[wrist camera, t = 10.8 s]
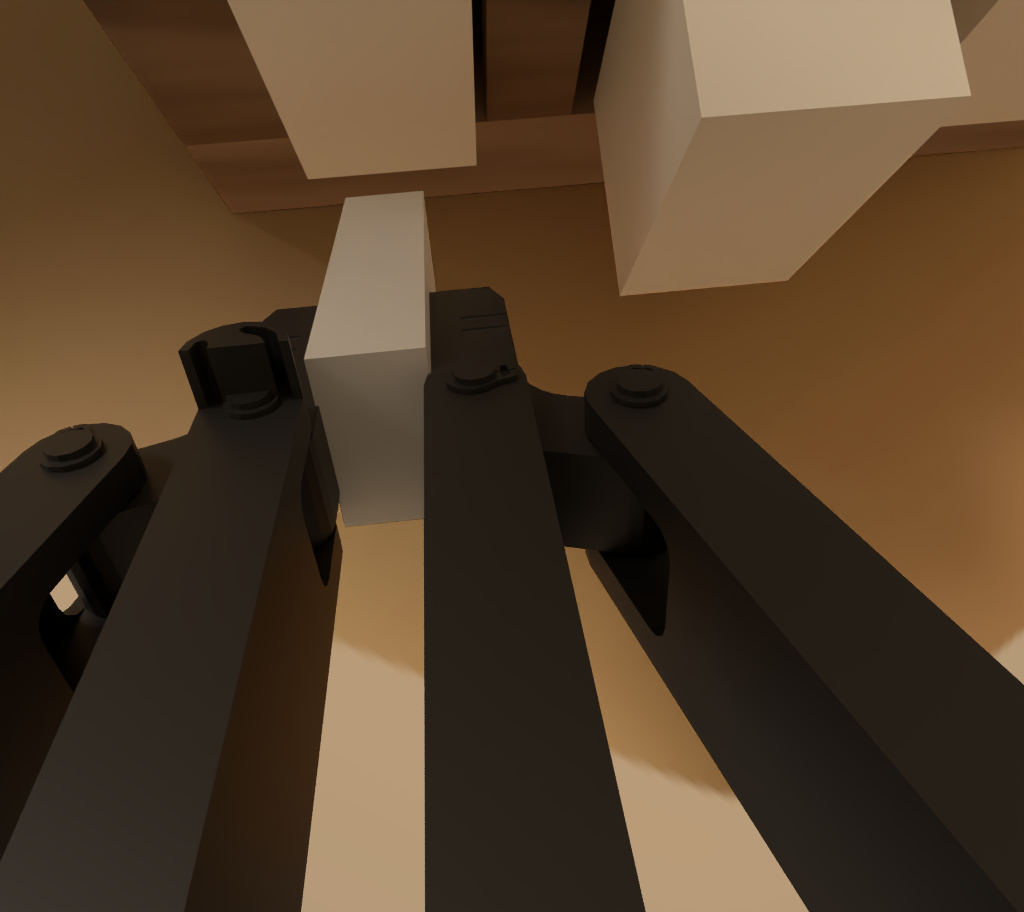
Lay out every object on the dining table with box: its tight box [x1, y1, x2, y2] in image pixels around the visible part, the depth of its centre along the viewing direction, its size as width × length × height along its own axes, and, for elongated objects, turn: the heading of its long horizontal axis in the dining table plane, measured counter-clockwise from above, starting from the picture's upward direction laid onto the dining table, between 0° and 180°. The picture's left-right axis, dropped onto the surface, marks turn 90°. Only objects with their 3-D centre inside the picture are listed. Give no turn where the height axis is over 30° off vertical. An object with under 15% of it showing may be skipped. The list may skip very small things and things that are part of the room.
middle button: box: [594, 0, 971, 296], centre depth 15 cm, size 5×4×7 cm
